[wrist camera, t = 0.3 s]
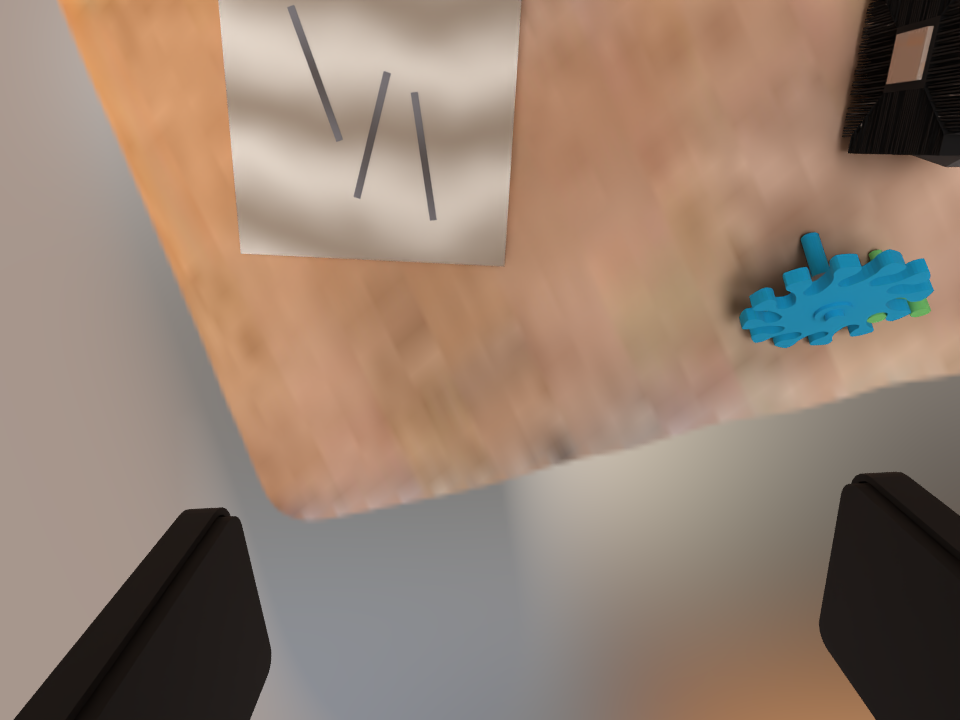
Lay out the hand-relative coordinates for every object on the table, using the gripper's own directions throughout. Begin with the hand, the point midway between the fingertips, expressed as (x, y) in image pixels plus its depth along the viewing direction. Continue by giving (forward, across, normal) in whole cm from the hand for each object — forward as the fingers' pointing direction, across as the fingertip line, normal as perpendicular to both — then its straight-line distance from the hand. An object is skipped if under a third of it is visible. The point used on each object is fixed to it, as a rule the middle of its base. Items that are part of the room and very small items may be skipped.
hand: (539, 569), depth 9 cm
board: (+30, +6, -8) cm, 32 cm away
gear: (+31, -20, +4) cm, 37 cm away
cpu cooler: (+30, -24, -9) cm, 40 cm away
